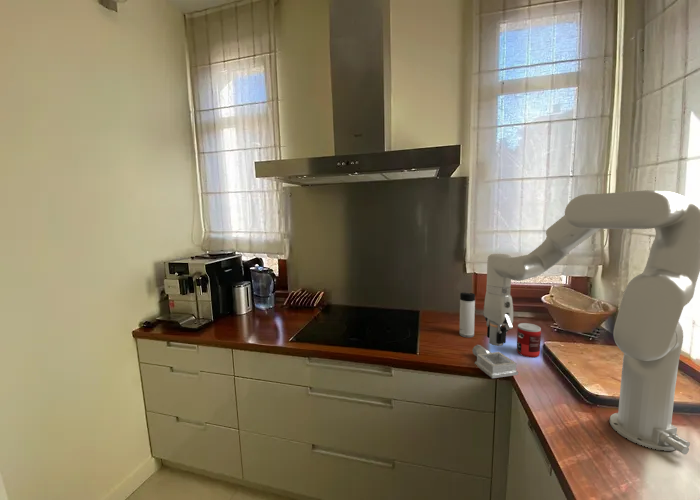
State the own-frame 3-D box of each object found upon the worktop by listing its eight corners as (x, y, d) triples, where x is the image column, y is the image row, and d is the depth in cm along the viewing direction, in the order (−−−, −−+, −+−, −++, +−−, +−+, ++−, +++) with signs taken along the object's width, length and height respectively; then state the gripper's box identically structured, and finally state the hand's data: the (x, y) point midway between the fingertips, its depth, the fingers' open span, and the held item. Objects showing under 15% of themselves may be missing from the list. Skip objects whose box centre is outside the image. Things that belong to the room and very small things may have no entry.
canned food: (518, 347, 127) (519, 321, 125) (541, 352, 122) (542, 325, 120) (514, 354, 121) (515, 327, 119) (538, 359, 116) (539, 331, 114)
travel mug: (458, 336, 139) (459, 293, 136) (460, 331, 144) (460, 290, 142) (473, 338, 136) (474, 294, 133) (474, 333, 142) (475, 291, 139)
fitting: (518, 374, 106) (518, 362, 105) (492, 378, 104) (492, 366, 103) (488, 354, 121) (489, 343, 121) (465, 356, 119) (466, 346, 119)
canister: (506, 345, 107) (507, 323, 106) (494, 346, 106) (495, 324, 105) (497, 339, 111) (498, 318, 110) (486, 341, 110) (486, 319, 109)
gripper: (525, 295, 99) (523, 349, 101) (492, 283, 115) (490, 330, 117) (505, 297, 97) (502, 351, 100) (474, 284, 114) (472, 332, 116)
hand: (496, 339), depth 108 cm, fingers closed on canister, 4 cm apart
